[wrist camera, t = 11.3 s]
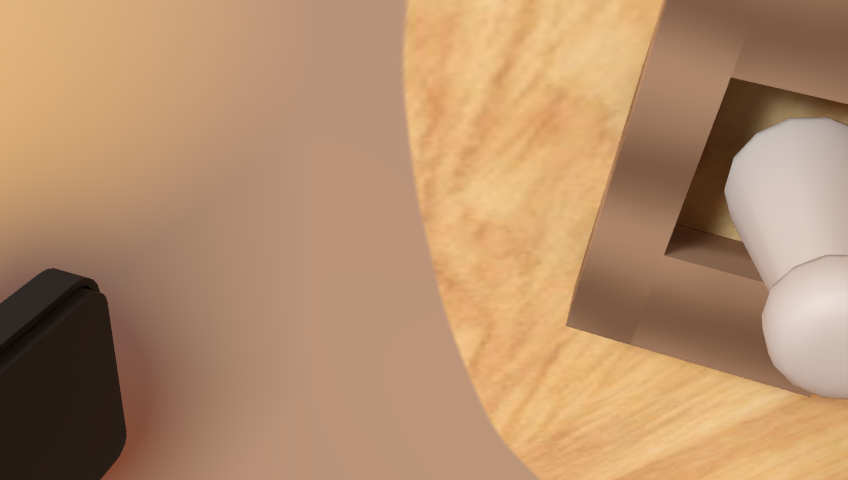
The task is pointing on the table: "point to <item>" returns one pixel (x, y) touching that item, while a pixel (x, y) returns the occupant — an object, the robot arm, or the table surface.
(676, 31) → the notched board
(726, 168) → the table surface
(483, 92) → the table surface
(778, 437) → the table surface
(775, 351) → the salt shaker
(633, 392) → the table surface
